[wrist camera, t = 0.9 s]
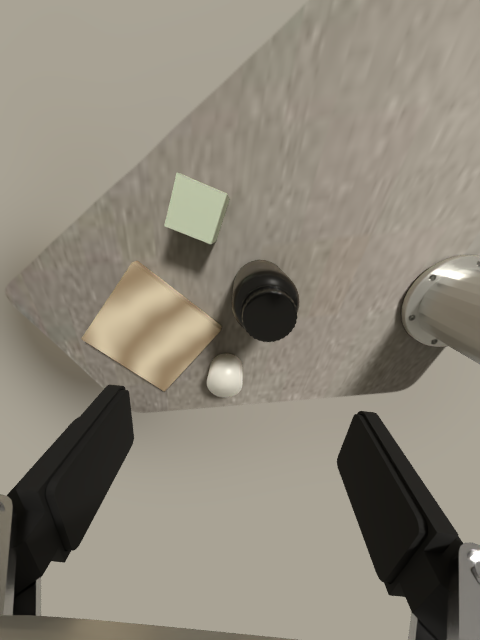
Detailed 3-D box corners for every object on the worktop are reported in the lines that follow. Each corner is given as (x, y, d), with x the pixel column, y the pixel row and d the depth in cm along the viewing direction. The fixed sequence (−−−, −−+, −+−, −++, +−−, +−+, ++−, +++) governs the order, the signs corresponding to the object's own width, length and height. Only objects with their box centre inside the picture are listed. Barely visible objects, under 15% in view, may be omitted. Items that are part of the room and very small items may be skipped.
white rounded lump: (249, 365, 36) (249, 382, 32) (228, 385, 37) (227, 403, 33) (224, 347, 34) (221, 361, 31) (204, 368, 36) (199, 384, 32)
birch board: (221, 325, 33) (220, 330, 32) (167, 385, 37) (164, 391, 36) (137, 260, 30) (132, 262, 28) (87, 334, 34) (81, 338, 32)
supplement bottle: (282, 309, 32) (303, 355, 21) (233, 307, 32) (228, 352, 21) (288, 259, 29) (315, 280, 18) (234, 257, 29) (229, 277, 18)
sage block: (229, 198, 27) (226, 193, 22) (216, 241, 29) (211, 244, 24) (188, 181, 26) (176, 172, 22) (177, 225, 28) (164, 226, 23)
